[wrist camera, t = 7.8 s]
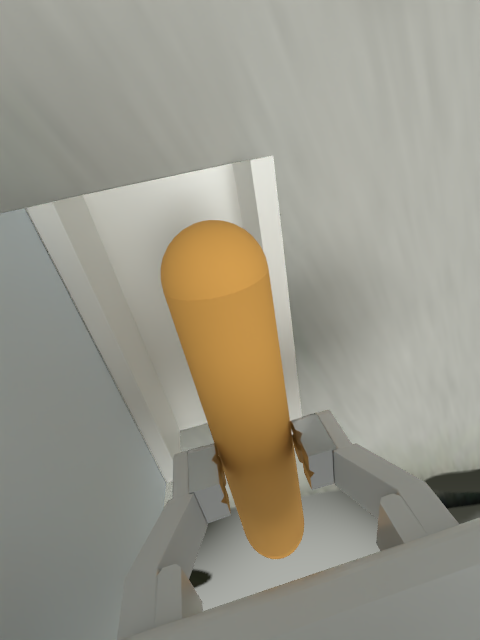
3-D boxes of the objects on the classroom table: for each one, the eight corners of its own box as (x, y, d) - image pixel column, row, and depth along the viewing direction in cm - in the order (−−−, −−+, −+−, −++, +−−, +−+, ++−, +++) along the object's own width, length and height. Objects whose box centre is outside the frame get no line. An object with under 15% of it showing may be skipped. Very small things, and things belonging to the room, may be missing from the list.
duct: (168, 426, 24) (166, 482, 20) (67, 197, 16) (25, 207, 11) (282, 393, 25) (304, 440, 21) (246, 159, 16) (273, 155, 12)
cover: (166, 483, 20) (154, 485, 20) (24, 208, 11) (3, 212, 11) (137, 735, 11) (116, 740, 11) (-638, 361, 2) (-737, 382, 2)
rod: (243, 514, 16) (255, 579, 14) (150, 225, 9) (137, 248, 6) (294, 498, 17) (316, 560, 14) (246, 203, 9) (275, 216, 6)
